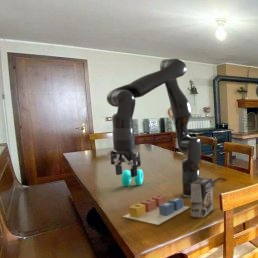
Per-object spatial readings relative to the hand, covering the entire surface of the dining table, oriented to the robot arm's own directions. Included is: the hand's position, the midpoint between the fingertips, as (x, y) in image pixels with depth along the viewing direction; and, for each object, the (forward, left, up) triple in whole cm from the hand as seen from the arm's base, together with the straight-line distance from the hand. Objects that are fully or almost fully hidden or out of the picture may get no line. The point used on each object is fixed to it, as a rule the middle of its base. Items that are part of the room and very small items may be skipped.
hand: (126, 175), depth 104 cm
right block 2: (-18, +9, -21) cm, 29 cm away
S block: (-6, -2, -21) cm, 21 cm away
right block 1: (-12, +9, -21) cm, 25 cm away
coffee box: (-18, +24, -21) cm, 37 cm away
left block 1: (-12, -2, -21) cm, 24 cm away
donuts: (-35, -42, -21) cm, 59 cm away
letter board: (-12, +4, -21) cm, 24 cm away
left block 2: (-18, -2, -21) cm, 27 cm away
